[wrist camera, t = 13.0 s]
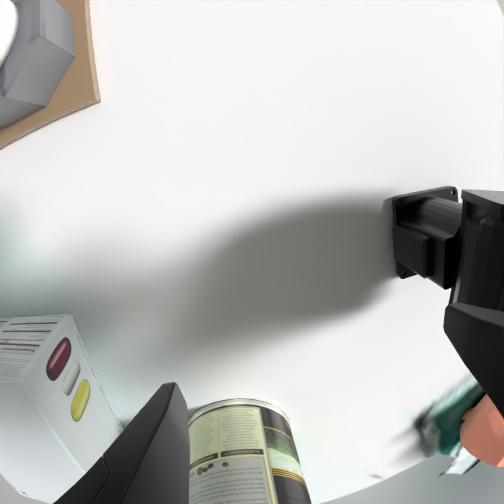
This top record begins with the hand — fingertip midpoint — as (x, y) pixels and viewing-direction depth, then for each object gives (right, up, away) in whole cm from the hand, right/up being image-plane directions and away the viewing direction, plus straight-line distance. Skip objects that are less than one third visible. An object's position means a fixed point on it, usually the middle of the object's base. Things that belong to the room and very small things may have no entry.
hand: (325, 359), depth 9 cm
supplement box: (-22, -10, +15) cm, 28 cm away
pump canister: (-19, +17, +6) cm, 26 cm away
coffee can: (-4, -14, +18) cm, 23 cm away
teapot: (+33, -19, +24) cm, 45 cm away
